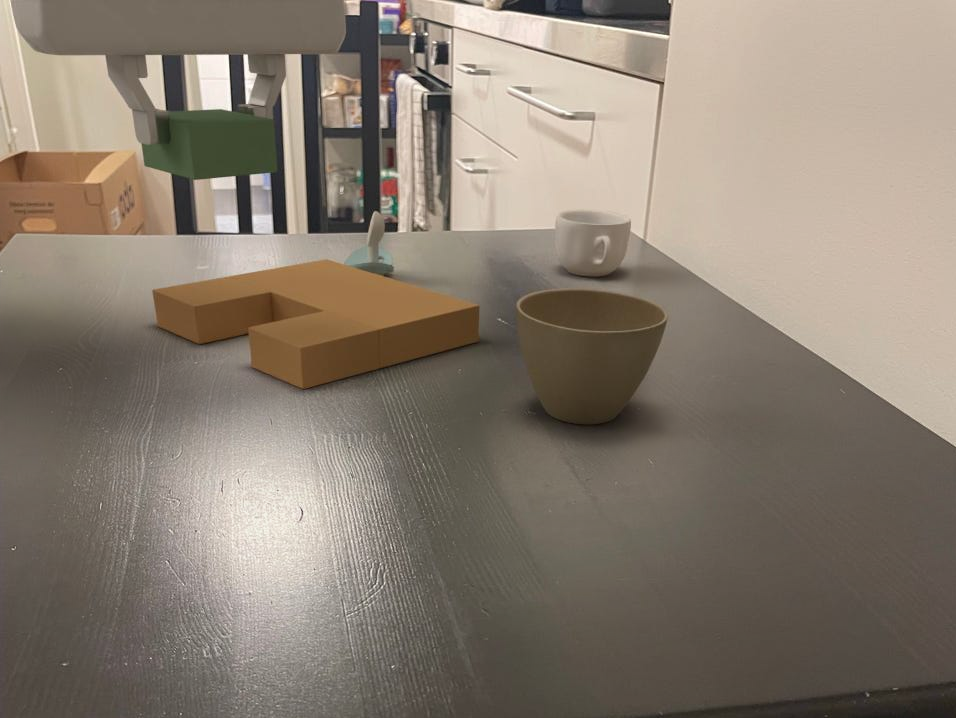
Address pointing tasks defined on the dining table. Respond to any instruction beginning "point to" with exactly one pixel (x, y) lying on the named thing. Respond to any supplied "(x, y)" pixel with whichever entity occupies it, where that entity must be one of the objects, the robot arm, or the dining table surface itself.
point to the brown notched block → (318, 319)
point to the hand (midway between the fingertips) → (207, 140)
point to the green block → (215, 145)
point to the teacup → (591, 241)
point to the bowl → (587, 349)
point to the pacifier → (372, 250)
